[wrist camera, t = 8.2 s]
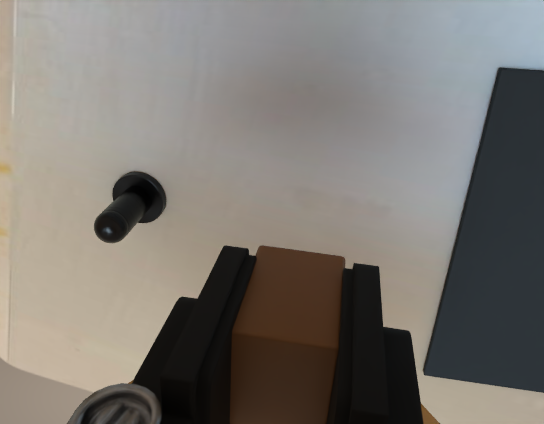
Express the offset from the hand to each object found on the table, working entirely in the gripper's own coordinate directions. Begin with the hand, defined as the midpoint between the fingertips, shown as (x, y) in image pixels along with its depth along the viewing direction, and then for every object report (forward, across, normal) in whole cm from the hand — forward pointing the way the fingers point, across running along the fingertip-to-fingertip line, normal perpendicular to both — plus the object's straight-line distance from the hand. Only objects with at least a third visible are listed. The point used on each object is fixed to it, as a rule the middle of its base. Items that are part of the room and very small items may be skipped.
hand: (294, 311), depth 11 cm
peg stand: (+19, +12, +8) cm, 24 cm away
